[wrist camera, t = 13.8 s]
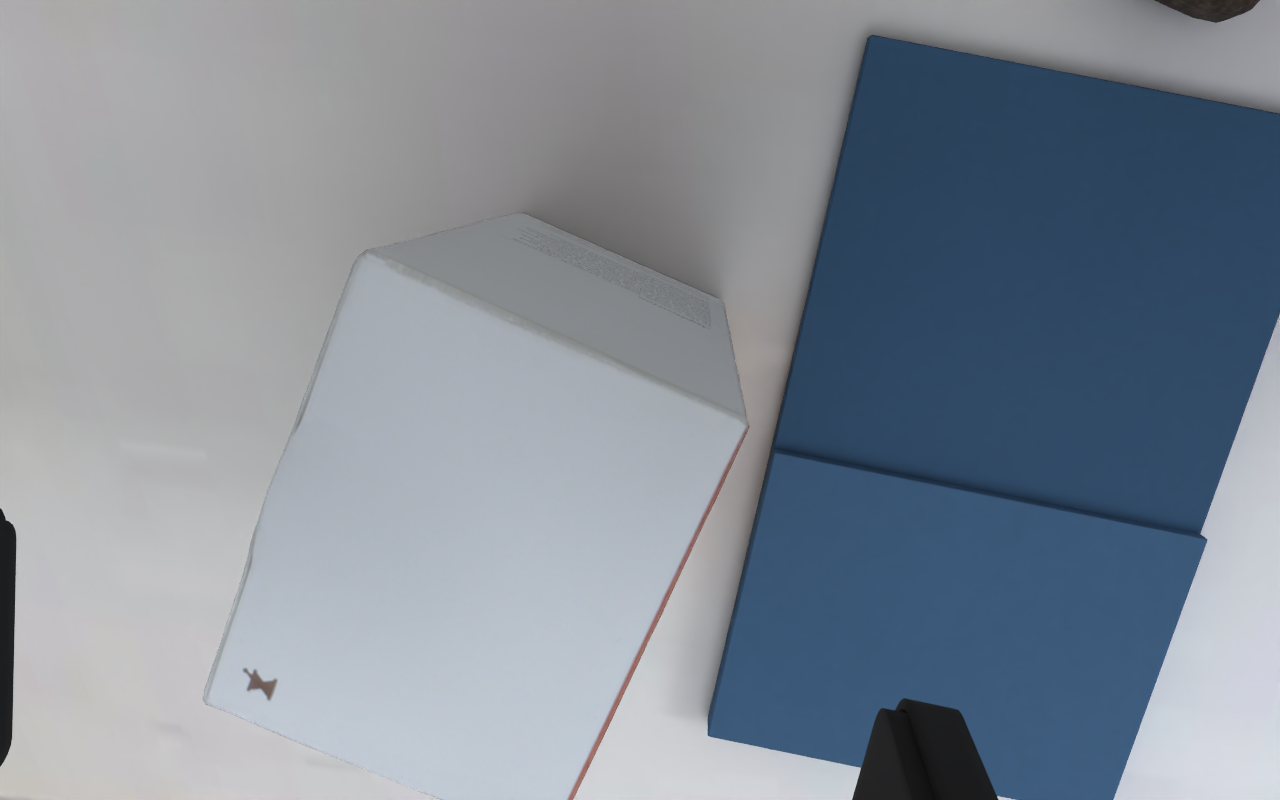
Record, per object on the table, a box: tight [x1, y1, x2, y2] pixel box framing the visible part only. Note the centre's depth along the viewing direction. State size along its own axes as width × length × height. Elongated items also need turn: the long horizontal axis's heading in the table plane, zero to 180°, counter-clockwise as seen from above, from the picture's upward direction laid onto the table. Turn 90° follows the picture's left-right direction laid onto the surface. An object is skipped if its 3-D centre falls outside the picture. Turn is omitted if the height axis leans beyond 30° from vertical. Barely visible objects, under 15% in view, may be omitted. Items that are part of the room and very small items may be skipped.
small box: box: [203, 212, 749, 800], centre depth 21 cm, size 8×6×13 cm
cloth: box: [708, 35, 1280, 800], centre depth 26 cm, size 12×20×1 cm, turn 169°
